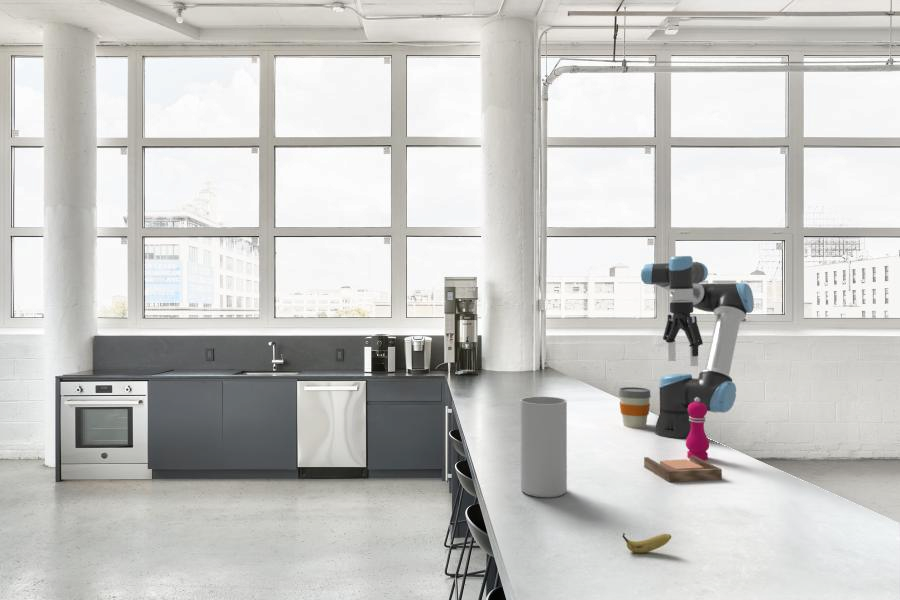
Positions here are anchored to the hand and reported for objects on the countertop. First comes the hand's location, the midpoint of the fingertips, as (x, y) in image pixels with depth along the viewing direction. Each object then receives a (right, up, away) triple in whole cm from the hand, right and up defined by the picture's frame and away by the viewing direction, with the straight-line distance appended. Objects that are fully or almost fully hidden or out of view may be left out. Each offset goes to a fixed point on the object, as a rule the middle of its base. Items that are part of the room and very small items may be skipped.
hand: (682, 363), depth 209 cm
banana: (-38, -31, -81) cm, 95 cm away
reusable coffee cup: (-3, -30, +43) cm, 53 cm away
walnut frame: (-10, -31, -24) cm, 40 cm away
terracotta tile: (-9, -31, -24) cm, 40 cm away
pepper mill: (+2, -31, -7) cm, 32 cm away
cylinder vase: (-54, -31, -41) cm, 74 cm away
